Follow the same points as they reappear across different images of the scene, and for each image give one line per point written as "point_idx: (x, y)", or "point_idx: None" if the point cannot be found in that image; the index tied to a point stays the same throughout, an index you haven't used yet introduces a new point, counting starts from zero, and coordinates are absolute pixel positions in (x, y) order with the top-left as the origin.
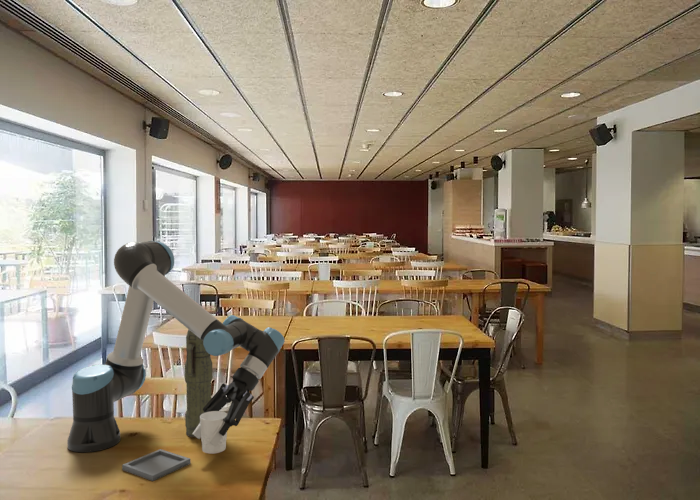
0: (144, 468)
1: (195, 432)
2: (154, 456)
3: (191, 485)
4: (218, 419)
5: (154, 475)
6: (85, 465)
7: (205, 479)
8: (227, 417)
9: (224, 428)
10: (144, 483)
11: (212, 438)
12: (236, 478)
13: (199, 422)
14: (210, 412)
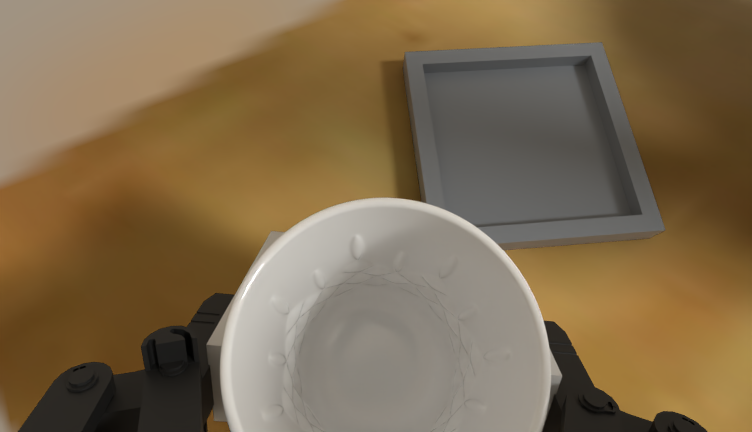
0: (523, 94)
1: None
2: (619, 186)
3: (240, 128)
4: (238, 295)
5: (405, 61)
6: (730, 10)
7: (230, 194)
8: (173, 395)
9: (188, 327)
10: (411, 44)
11: (262, 246)
12: (102, 285)
13: (562, 331)
14: (531, 415)
